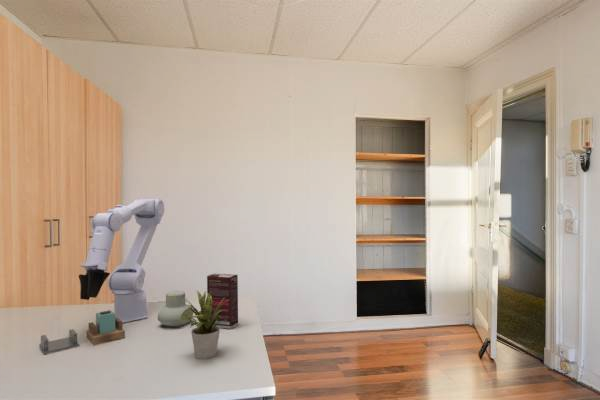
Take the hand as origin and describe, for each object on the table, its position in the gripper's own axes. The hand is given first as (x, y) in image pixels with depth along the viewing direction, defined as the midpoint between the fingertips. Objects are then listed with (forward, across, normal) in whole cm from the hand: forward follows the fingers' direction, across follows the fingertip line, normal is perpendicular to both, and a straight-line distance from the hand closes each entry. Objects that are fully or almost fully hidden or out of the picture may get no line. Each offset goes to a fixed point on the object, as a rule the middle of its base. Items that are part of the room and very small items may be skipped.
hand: (88, 298), depth 105 cm
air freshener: (+5, +1, +27) cm, 27 cm away
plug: (+8, -1, +7) cm, 11 cm away
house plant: (+13, +27, +23) cm, 38 cm away
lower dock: (+13, -4, -3) cm, 14 cm away
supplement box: (+5, +13, +37) cm, 39 cm away
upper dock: (+10, -1, +7) cm, 13 cm away
